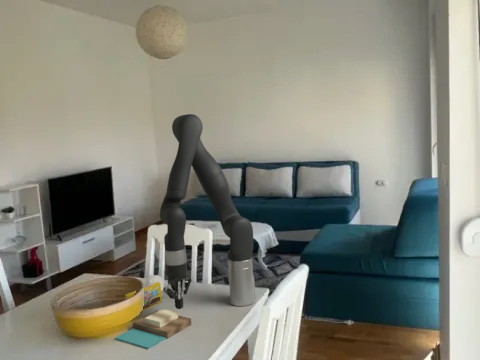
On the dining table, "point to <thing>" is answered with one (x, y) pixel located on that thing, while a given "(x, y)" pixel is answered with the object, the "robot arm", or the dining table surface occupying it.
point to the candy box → (149, 295)
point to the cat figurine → (155, 279)
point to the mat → (140, 338)
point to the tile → (161, 318)
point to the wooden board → (165, 330)
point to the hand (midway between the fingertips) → (179, 308)
